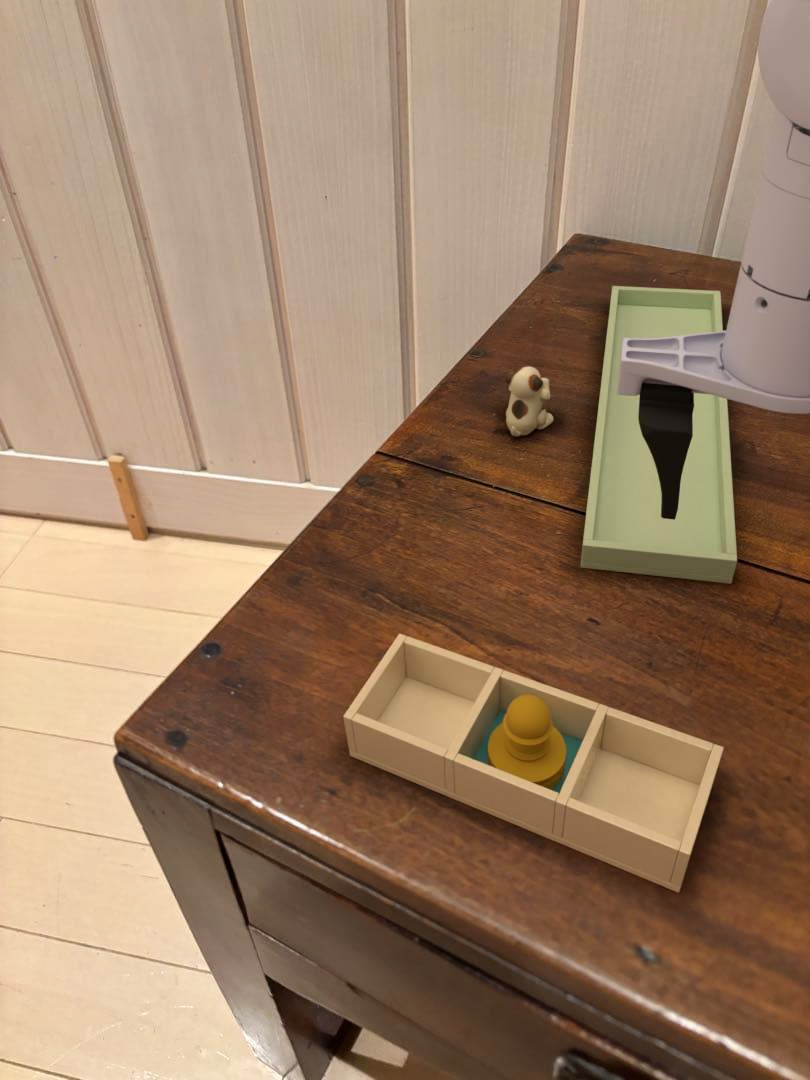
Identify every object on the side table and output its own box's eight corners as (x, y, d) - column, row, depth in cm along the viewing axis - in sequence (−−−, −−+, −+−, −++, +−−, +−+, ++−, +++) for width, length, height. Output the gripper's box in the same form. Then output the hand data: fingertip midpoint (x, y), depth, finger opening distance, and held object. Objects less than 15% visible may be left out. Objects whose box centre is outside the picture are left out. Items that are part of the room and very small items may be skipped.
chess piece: (581, 768, 47) (588, 708, 43) (522, 811, 45) (525, 752, 42) (529, 719, 49) (532, 658, 46) (471, 757, 48) (471, 698, 44)
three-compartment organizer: (712, 787, 46) (724, 746, 44) (679, 893, 42) (690, 855, 40) (403, 673, 53) (399, 632, 51) (349, 756, 49) (342, 716, 47)
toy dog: (558, 416, 71) (562, 360, 67) (523, 448, 68) (525, 390, 65) (521, 402, 72) (522, 346, 69) (485, 432, 70) (485, 375, 66)
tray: (731, 584, 57) (737, 560, 55) (580, 568, 59) (582, 544, 57) (716, 311, 81) (720, 290, 80) (610, 306, 83) (612, 285, 82)
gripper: (982, 235, 40) (884, 479, 49) (637, 218, 42) (606, 453, 52) (1025, 318, 35) (907, 572, 44) (630, 293, 37) (598, 538, 47)
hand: (745, 514), depth 47 cm, fingers open, 7 cm apart
